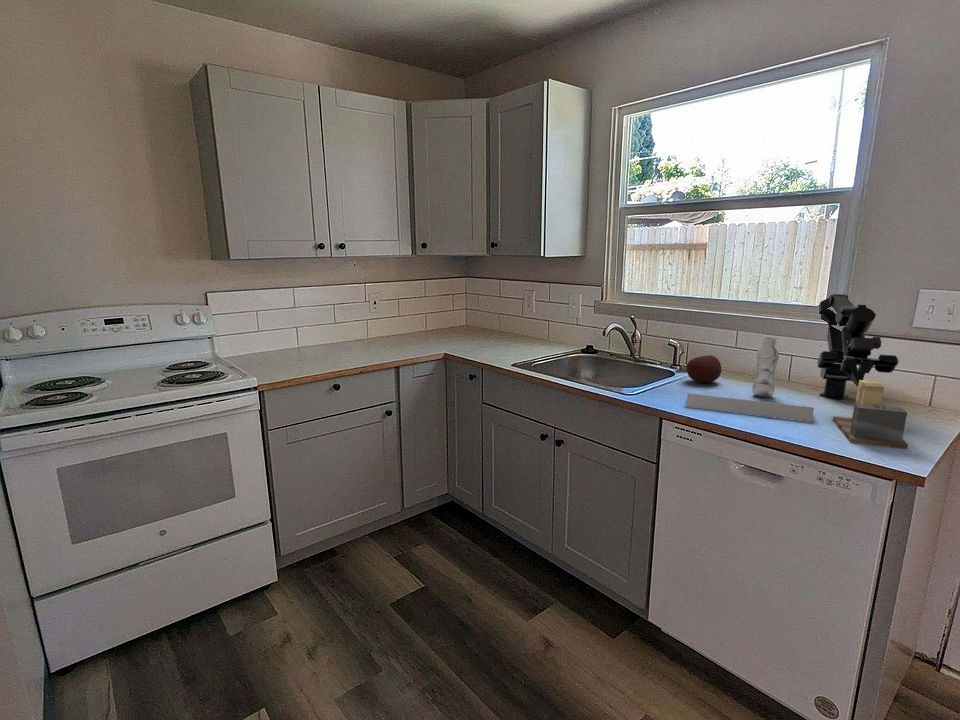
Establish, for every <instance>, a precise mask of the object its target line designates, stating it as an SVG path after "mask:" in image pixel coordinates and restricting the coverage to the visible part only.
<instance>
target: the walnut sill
mask: <svg viewBox="0 0 960 720" xmlns="http://www.w3.org/2000/svg"><path fill="white" fill-rule="evenodd" d="M907 415H908V412H907V411H906V410H905V409H904V408H902V407H898V406H887V405H885V406H884V405H882V406H881V407H880V408H876V407H874V406H873V405H865V404H855V403H854V405H853V412H852V417H843V416H835V415H833V417H832V421H833V423H834V424H835V425H836V426H837V429H839V430H840V432H841V433H842V434H843V435H844V437H845V436H846V437H845V438H846V439H847V441H848V442H849V443H851V442H852V443H853V444H860V443H862V444H863V445H869V444H871V445H872V446H877V445H880V446H879V447H887V448H888V447H889V448H895V447H896V449H904V450H905V449H906V450H908V448H909V443H907V442H906V441H905V440H904V439H903V438H904V433H905V427H906V421H907ZM862 444H861V445H862ZM871 445H870V446H871Z"/></svg>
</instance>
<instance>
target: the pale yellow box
mask: <svg viewBox="0 0 960 720" xmlns="http://www.w3.org/2000/svg"><path fill="white" fill-rule="evenodd" d="M884 389H885V388H884V385H882V383H880V382H879V381H877V380H865V379H863V380H859V384H858V387H857V390H856V391H857V392H856V397H855V403H854V404H865V405H873V406H874V407H876V408H882V406H881V405H882V400H883V395H884Z"/></svg>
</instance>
